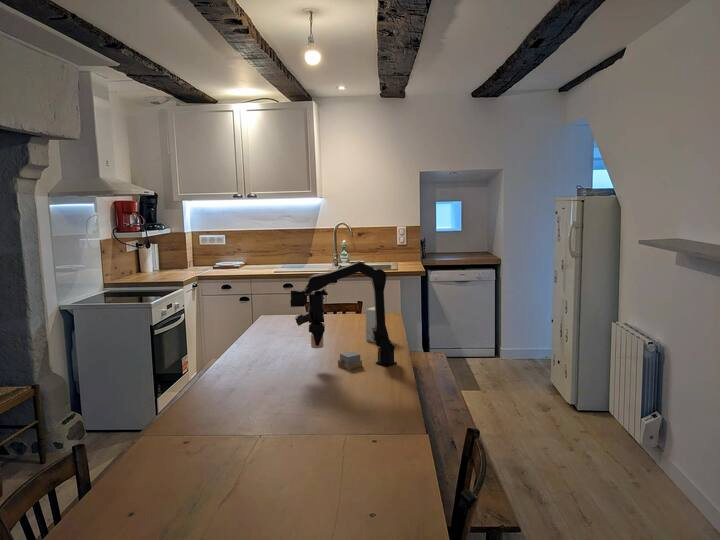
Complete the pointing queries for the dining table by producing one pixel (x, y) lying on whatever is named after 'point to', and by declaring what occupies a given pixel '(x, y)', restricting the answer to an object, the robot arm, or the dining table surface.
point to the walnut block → (349, 364)
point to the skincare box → (370, 323)
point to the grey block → (350, 357)
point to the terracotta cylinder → (315, 344)
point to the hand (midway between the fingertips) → (317, 344)
